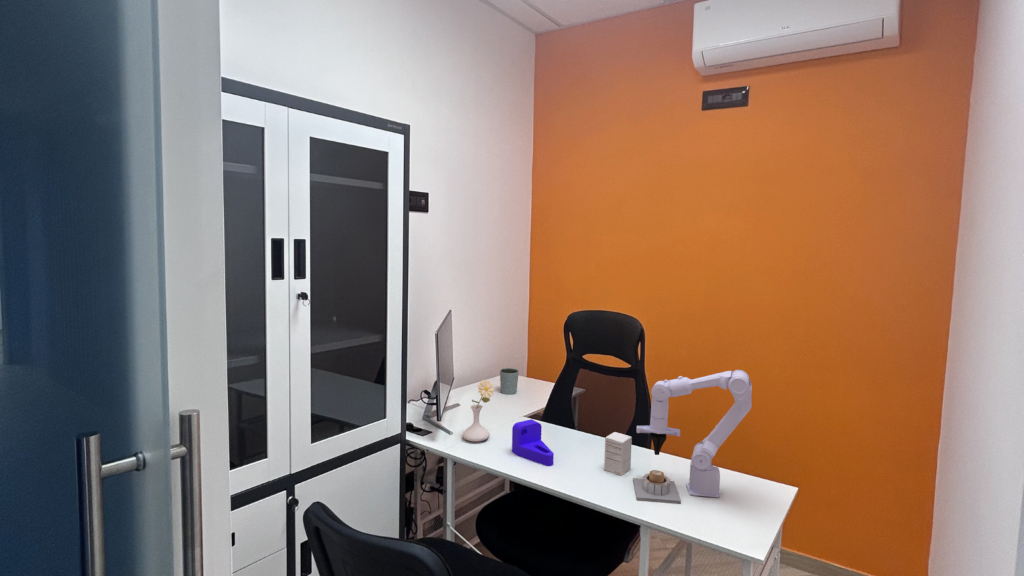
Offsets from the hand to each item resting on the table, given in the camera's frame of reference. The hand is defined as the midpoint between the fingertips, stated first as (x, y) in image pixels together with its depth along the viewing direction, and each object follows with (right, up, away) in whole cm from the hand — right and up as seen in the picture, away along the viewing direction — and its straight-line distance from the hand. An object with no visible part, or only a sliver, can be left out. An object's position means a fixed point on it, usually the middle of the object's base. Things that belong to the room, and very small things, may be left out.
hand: (656, 453), depth 191 cm
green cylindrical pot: (-52, +2, +101) cm, 114 cm away
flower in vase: (-65, -5, +38) cm, 75 cm away
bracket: (-41, -8, +20) cm, 46 cm away
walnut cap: (-2, -10, -6) cm, 12 cm away
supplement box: (-12, -9, +11) cm, 18 cm away
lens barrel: (-2, -11, -6) cm, 13 cm away
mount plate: (-2, -11, -6) cm, 13 cm away
